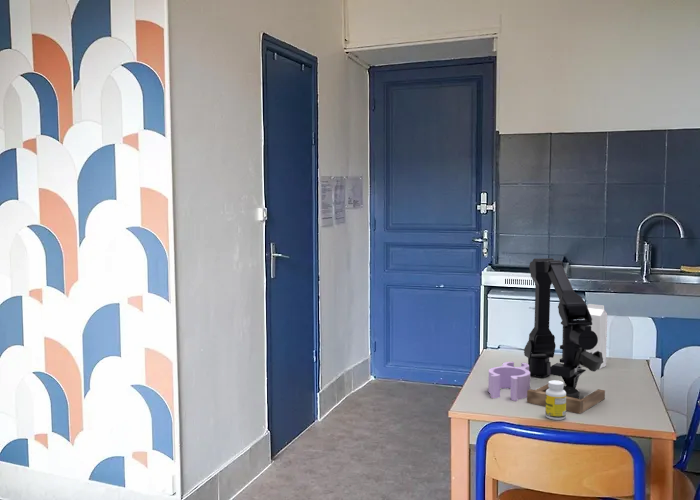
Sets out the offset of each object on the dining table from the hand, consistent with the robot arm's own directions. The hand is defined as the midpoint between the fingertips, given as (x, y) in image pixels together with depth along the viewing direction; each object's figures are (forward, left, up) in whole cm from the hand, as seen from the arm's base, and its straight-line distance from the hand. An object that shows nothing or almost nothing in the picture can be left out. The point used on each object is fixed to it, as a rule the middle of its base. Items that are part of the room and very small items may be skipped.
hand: (571, 393), depth 202 cm
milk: (-9, +40, -2) cm, 41 cm away
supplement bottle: (+4, -20, -2) cm, 20 cm away
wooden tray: (0, -3, -1) cm, 3 cm away
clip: (-17, -5, -2) cm, 18 cm away
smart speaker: (0, -6, -2) cm, 6 cm away
